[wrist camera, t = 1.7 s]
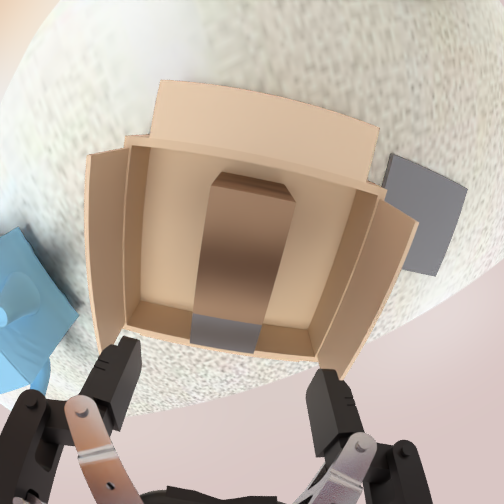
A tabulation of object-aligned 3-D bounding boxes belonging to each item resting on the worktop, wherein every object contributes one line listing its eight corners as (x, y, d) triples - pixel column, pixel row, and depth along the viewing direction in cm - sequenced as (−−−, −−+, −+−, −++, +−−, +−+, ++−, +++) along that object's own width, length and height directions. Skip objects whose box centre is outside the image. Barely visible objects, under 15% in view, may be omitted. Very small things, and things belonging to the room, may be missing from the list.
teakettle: (2, 316, 29) (-47, 376, 15) (-17, 201, 21) (-98, 248, 8) (97, 362, 31) (56, 449, 17) (90, 234, 23) (-11, 325, 10)
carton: (156, 87, 18) (99, 65, 10) (375, 134, 20) (444, 142, 11) (136, 303, 26) (101, 369, 18) (309, 333, 28) (327, 405, 19)
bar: (221, 171, 21) (210, 185, 15) (284, 184, 21) (296, 202, 16) (200, 300, 26) (189, 343, 20) (252, 309, 26) (253, 353, 21)
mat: (390, 153, 21) (393, 154, 20) (464, 187, 21) (467, 188, 21) (358, 257, 25) (360, 260, 24) (432, 273, 25) (435, 276, 25)
